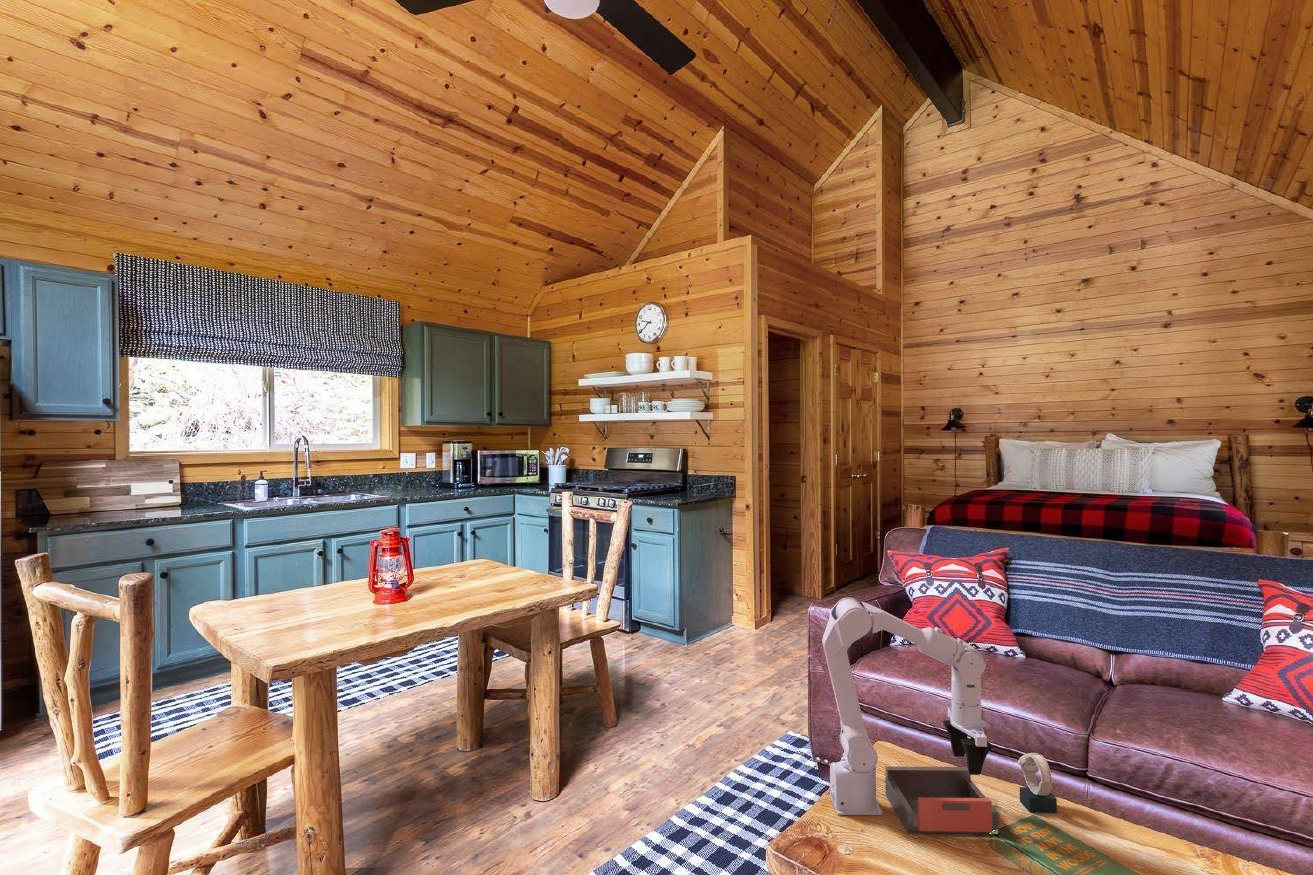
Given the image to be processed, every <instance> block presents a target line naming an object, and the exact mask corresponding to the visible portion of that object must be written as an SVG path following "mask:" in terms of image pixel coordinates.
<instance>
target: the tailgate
mask: <svg viewBox="0 0 1313 875" xmlns="http://www.w3.org/2000/svg"><path fill="white" fill-rule="evenodd" d="M992 803H993V801H992V800H991V798H989V797H986V798H918V828H919V830H920V831H960V832H992V805H993V804H992Z"/></svg>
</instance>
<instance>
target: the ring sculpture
mask: <svg viewBox="0 0 1313 875" xmlns="http://www.w3.org/2000/svg"><path fill="white" fill-rule="evenodd" d="M1017 764H1018V765H1019V766H1020V769H1021V772H1022V774H1023V777H1024V779H1025V782H1026V785H1027V786H1019V803H1021V805H1022V806H1023V807H1024V808H1025V809H1026V810H1027V811H1028V812H1029V813H1030V814H1058V802H1057V801H1058V800H1057V797H1056V796H1055V795H1054V794H1053V793H1052V788H1053V782H1052V781H1053V778H1052V773H1051V769H1050V766H1049V763H1048V761H1047V759H1046V758H1045V756H1043V754H1040V753H1036V752H1029V753H1025V754H1023V755H1022V756H1020V757H1019V759H1018V760H1017ZM1038 773H1040V780H1041V781H1039V783H1038V780H1037V776H1036V774H1038Z"/></svg>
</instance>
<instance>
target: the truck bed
mask: <svg viewBox="0 0 1313 875" xmlns="http://www.w3.org/2000/svg"><path fill="white" fill-rule="evenodd" d="M884 769H885V771H884V772H885V778H884V779H885V780H884V781H885V796H886V799H887V800H888V802H889V804H890V805H891V807H892V809H893V811H894V813H895V814H896V816H897V818H898V820H899V822H900V823H901V824H902V827H903V828H904V830H905V832H906V833H907V835H963V836H964V835H967V836H968V835H973V836H974V835H975V836H977V835H978V836H979V835H980V836H983V835H984V836H988V835H989V833H990V832H960V831H920V830H919V828H918V798H987V797H986V796H985V794H983V792H982V791H981V790H980V789H979V788H978V786H977V785H976V784H975V783H974V782H973V781H972V778H971V777H972V775H970V773H969V771H968V766H894V765H893V766H890V765H889V766H887V765H885V766H884ZM999 817H1000V816H999V811H998V810H997V809H996V807H994V805H993V804H992V831H993V830H997V829H999V830H1000V828H999V826H1000V825H999V824H1000V823H999ZM989 836H990V835H989Z"/></svg>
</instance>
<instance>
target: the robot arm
mask: <svg viewBox="0 0 1313 875" xmlns="http://www.w3.org/2000/svg"><path fill="white" fill-rule="evenodd" d="M825 627H826V628H825V630H824V633H823V636H822V639H821V642H822V648H823V653H824V656H825V660H826V663H827V664H826V665H827V668H828V673H829V677H830V682H831V685H832V686H831V687H832V689H833V693H834V698H835V702H836V706H837V710H838V715H839V724H840V728H841V729H840V734H839V743H840V745H841V747H842V748H843V751H844V752H843V754H842V756H841V757H840V758H841V759H840V761H838V762H832V763H830V766H829V783H830V784H829V787H830V788H829V790H830V789H831V790H830V791H829V798H830V799H831V802H832V804H833V807H834V808H835V811H836V813H837V815H839V816H883V811H882V809H881V806H880V805H879V803H878V801H877V776H876V775H877V768H876V767H877V763H878V759H879V755H878V752H877V750H876V749H875V747H874V746H873V745H872V742H871V739H870V738H869V735H868V732H867V728H866V726H865V723H864V719H863V714H862V710H861V706H860V702H859V698H858V694H857V689H856V684H855V682H854V677H853V673H852V669H851V668H852V667H851V665H850V660H849V656H848V649H849V648H850V647H851V646H852V644H854V642H857V641H858V640H860V639H861V638H862V637H864V636H866V635H867V634H868V633H869V632H871V633H872V634H876V633H878V632H880V631H886V632H888V633H891V634H893V635H894V636H898V637H900V638H902V639H904V640H907V641H909V642H911V643H914V644H916V648H917V649H918V651H919V652H920V653H921V654H923V655H925V656H928V657H930V658H931V659H934V660H936V661H938V662H941V663H942V664H945V665H948V666H951V682H950V683H951V707H947V717H948V718H949V719H948V720H947V719H946V720H945V719H944V720H943V721H942V724H943V726H944V728H945V731H946V732H947V736H948V738H949V741H950V747H951V751H952V754H953V757H955V758H956V757H958V758H960V757H961V758H966V765H967V766H966V767H968V771H969V773H970V775H971V776H980V775H981V774H982V771H983V770H982V769H983V767H984V766H983V765H984V763H985V761H986V757H987V756H988V754H989V753H990V752H991V750H992V748H993V747H992V746H993V745H992V743H990V742H989V741H988V737H987V736H986V734H985V732H984V731H985V730H984V728H986V727H988V723H987V722H986V721H985V720H983V719H982V680H981V679H982V678H981V676H982V674H983V673H984V671H985V670H986V668H987V667H986V666H987V663H986V662H985V659H984V656H983V655H982V654H981V653H980V652H979V651H978V650H977V649H976V648H975V647H973V646H972V645H971V644H970V643H967V642H966V641H965V640H963V639H961V638H959V637H957V638H954V637H952V636H949V635H948V634H945V633H943V632H944V631H943V630H942V629H941V628H939V627H937V626H935V627H934V628H932V627H930V626H927V627H925V628H918V627H917V626H915V625H912V624H911V623H909V622H907V621H905V620H903V619H901V618H899V617H897V616H895V615H893V614H891V613H889V612H887V611H885V610H883V609H881V608H880V607H876V606H874V605H873V604H869V603H867V602H863V601H861V603H860V601H858V599H856V598H854V597H844V598H840V599H839V600H838V601H837V602H836V603H835V605H834V606H833V607H832V608H831V609H830V611H829V618H828V622H827V623H826V626H825ZM968 736H970V738H969V739H968Z"/></svg>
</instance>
